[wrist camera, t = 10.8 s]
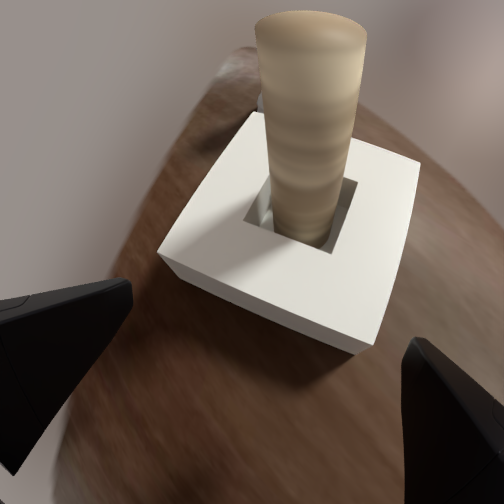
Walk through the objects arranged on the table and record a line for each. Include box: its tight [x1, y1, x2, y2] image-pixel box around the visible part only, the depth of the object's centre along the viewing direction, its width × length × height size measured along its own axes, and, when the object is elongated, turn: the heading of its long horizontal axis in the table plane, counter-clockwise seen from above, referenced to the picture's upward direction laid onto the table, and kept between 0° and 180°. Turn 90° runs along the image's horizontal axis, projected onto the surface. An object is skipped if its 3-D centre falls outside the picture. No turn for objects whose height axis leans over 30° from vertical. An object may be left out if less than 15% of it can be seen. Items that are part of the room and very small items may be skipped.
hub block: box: [157, 111, 420, 355], centre depth 18 cm, size 12×12×4 cm
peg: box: [255, 11, 367, 249], centre depth 14 cm, size 4×4×13 cm
